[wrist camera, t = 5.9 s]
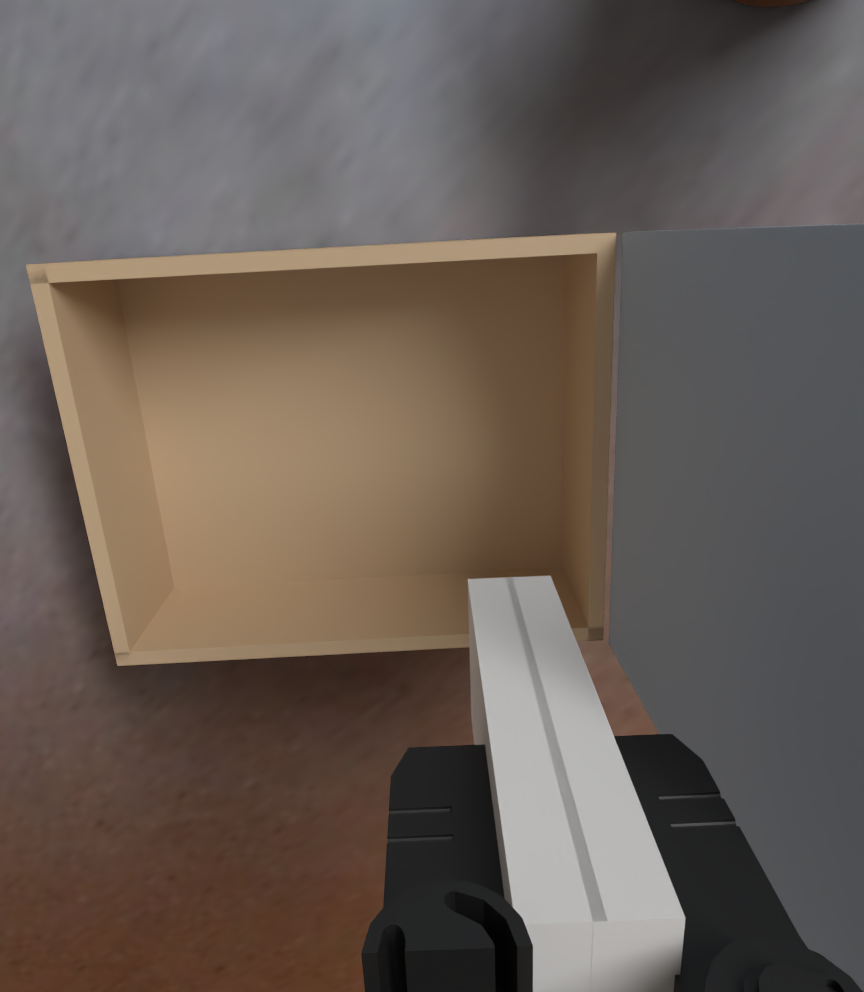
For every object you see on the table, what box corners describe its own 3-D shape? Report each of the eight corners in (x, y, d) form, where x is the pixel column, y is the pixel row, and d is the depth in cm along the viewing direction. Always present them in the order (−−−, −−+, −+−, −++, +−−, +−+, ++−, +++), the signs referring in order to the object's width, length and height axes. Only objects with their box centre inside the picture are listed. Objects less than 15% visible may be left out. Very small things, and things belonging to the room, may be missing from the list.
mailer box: (167, 595, 29) (117, 665, 24) (101, 259, 24) (25, 264, 20) (572, 573, 29) (603, 639, 24) (578, 233, 24) (616, 232, 20)
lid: (886, 1449, 8) (1074, 1426, 8) (1276, 216, 4) (1666, 196, 4) (552, 647, 24) (617, 642, 24) (554, 235, 19) (633, 231, 19)
